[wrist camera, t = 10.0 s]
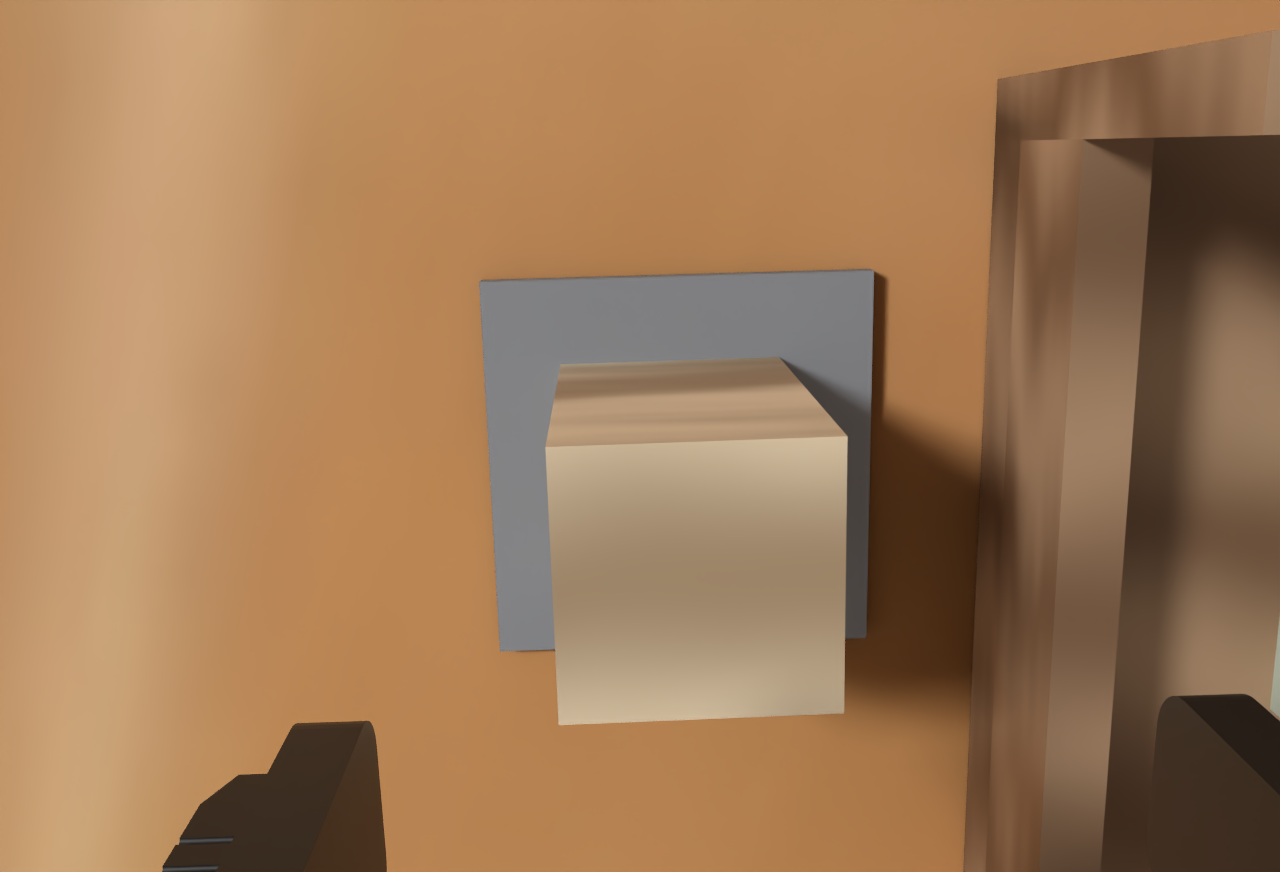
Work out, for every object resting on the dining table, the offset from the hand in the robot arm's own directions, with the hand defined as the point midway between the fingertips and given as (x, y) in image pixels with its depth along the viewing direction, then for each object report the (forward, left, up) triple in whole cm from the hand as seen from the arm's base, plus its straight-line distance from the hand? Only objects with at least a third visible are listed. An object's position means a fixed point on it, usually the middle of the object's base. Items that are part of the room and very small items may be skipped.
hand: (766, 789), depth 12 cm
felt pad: (0, 0, -14) cm, 14 cm away
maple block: (0, 0, -13) cm, 13 cm away
